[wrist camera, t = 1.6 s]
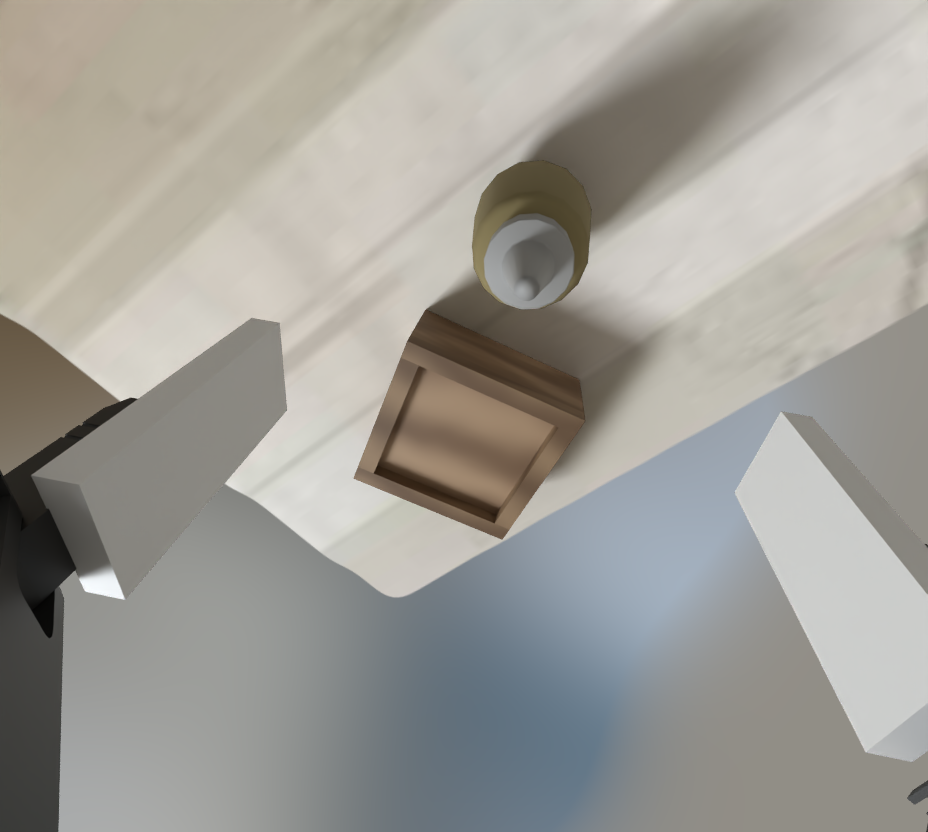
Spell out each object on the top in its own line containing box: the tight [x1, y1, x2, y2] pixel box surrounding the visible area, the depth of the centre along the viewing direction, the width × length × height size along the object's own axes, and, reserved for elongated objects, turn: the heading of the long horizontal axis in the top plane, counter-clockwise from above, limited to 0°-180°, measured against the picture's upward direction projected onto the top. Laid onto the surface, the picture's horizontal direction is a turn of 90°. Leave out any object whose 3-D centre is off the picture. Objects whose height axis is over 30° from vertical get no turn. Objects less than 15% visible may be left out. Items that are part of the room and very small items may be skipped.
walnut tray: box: [354, 310, 585, 539], centre depth 44 cm, size 15×15×7 cm
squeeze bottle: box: [472, 160, 591, 309], centre depth 29 cm, size 8×8×18 cm
